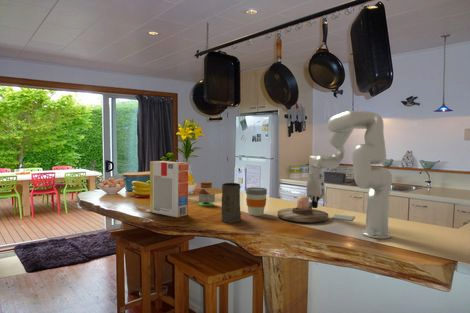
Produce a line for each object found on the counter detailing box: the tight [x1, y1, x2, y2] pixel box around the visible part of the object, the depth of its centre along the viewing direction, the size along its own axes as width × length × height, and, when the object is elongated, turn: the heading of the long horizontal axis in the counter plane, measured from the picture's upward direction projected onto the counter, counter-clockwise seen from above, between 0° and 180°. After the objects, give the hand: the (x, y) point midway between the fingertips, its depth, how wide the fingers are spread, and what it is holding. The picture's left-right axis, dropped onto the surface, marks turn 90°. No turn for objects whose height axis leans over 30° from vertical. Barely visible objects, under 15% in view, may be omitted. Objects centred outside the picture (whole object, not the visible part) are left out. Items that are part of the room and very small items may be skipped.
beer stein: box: [220, 182, 242, 224], centre depth 181 cm, size 15×11×20 cm
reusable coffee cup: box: [245, 186, 268, 217], centre depth 198 cm, size 13×13×15 cm
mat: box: [330, 214, 355, 222], centre depth 192 cm, size 11×11×1 cm
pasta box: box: [149, 160, 189, 218], centre depth 195 cm, size 23×8×30 cm, turn 56°
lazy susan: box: [277, 201, 329, 223], centre depth 189 cm, size 28×28×6 cm
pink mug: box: [296, 195, 310, 211], centre depth 188 cm, size 9×6×9 cm
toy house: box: [197, 181, 216, 207], centre depth 225 cm, size 12×13×15 cm
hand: (314, 207), depth 196 cm, fingers closed
